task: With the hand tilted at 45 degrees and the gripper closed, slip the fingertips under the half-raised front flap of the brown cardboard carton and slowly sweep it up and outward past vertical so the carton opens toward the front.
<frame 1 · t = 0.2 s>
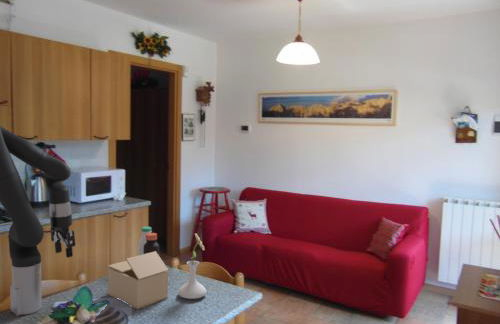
hand: (64, 254, 156), 17 cm above the table, tool pointing down, fingers open, 8 cm apart
front flap: (147, 264, 155), point 14 cm above the table, hinge at 35.0°
milk bottle: (146, 268, 193), on the table
carton: (137, 296, 160), on the table
flower in vase: (193, 295, 163), on the table
vinegar: (151, 278, 181), on the table
back flap: (130, 265, 163), point 12 cm above the table, hinge at 0.0°
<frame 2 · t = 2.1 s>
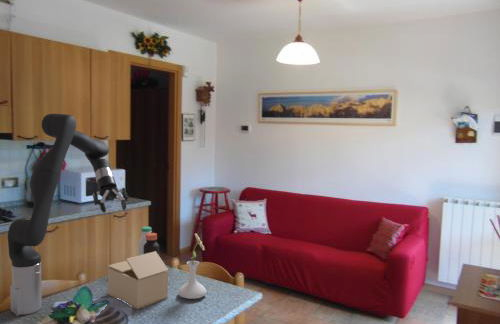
hand: (114, 210, 172), 32 cm above the table, tool tilted 45°, fingers open, 8 cm apart
nothing on the table moved.
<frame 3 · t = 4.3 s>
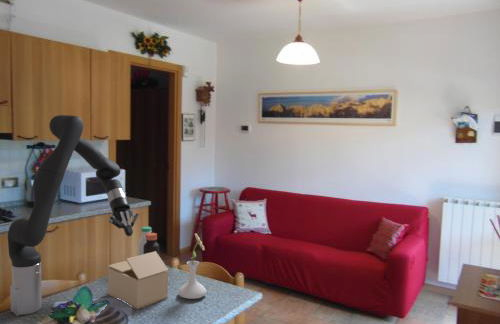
hand: (130, 235, 165), 23 cm above the table, tool tilted 45°, fingers closed
nothing on the table moved.
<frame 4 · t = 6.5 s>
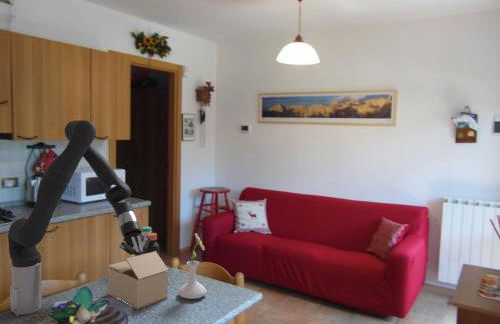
hand: (142, 261, 158), 15 cm above the table, tool tilted 45°, fingers closed
front flap: (147, 264, 155), point 14 cm above the table, hinge at 35.0°, touching gripper
everything else where it was.
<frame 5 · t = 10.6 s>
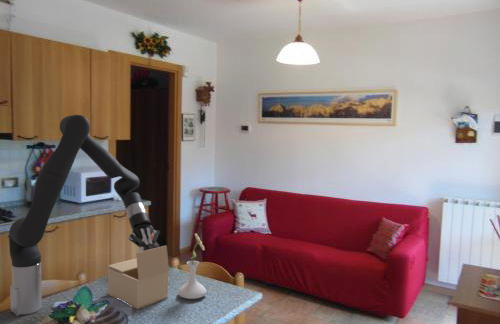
hand: (151, 254, 153), 19 cm above the table, tool tilted 45°, fingers closed
front flap: (153, 262, 153), point 16 cm above the table, hinge at 81.6°, touching gripper
everything else where it was.
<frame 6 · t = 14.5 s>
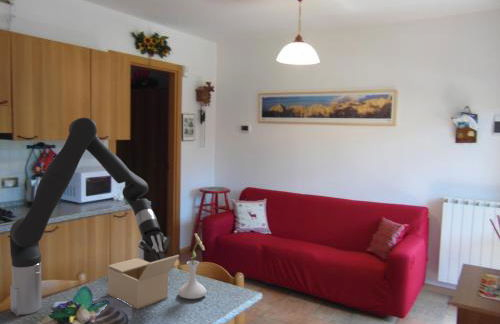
hand: (162, 262, 149), 17 cm above the table, tool tilted 45°, fingers closed
front flap: (159, 267, 151), point 15 cm above the table, hinge at 128.3°, touching gripper
everything else where it was.
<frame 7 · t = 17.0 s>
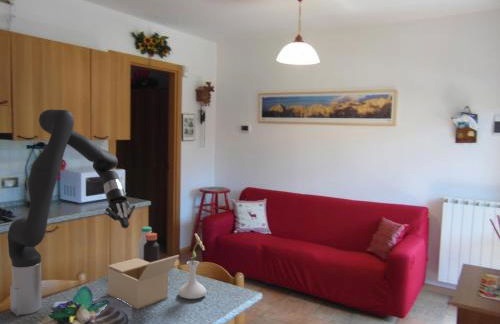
hand: (126, 227, 161), 27 cm above the table, tool tilted 45°, fingers closed
front flap: (159, 267, 151), point 15 cm above the table, hinge at 128.5°
everything else where it was.
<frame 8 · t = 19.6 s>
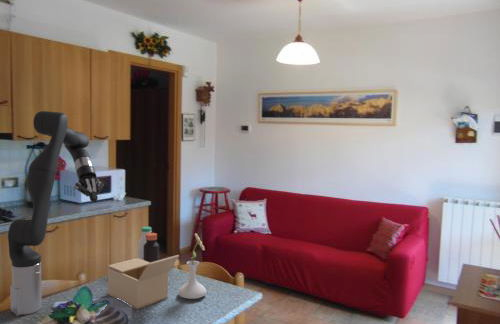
hand: (94, 200, 170), 36 cm above the table, tool tilted 45°, fingers closed
nothing on the table moved.
at the end: front flap at +128° (first picture: +35°); back flap at +0° (first picture: +0°) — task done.
